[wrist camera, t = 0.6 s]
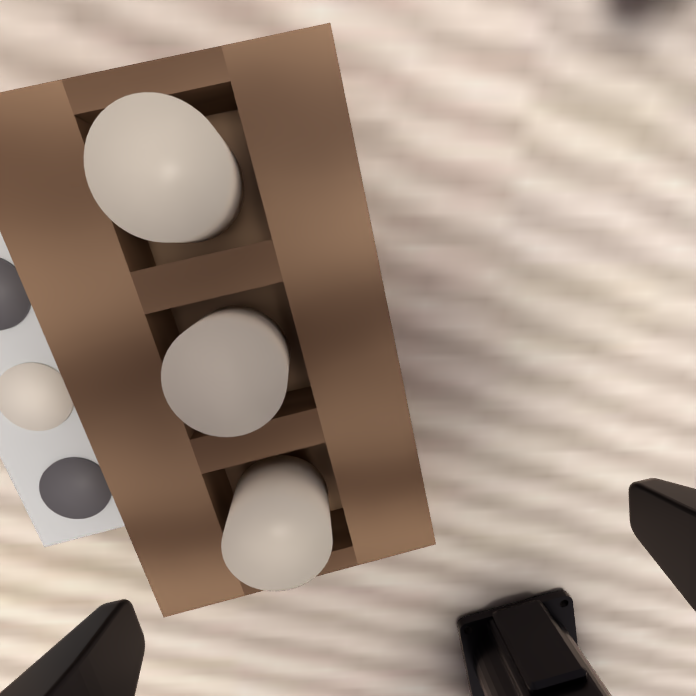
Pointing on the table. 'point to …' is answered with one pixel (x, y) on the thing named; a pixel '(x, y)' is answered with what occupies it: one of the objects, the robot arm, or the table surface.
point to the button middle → (227, 372)
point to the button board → (220, 306)
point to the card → (45, 428)
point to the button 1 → (162, 170)
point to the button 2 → (278, 525)
